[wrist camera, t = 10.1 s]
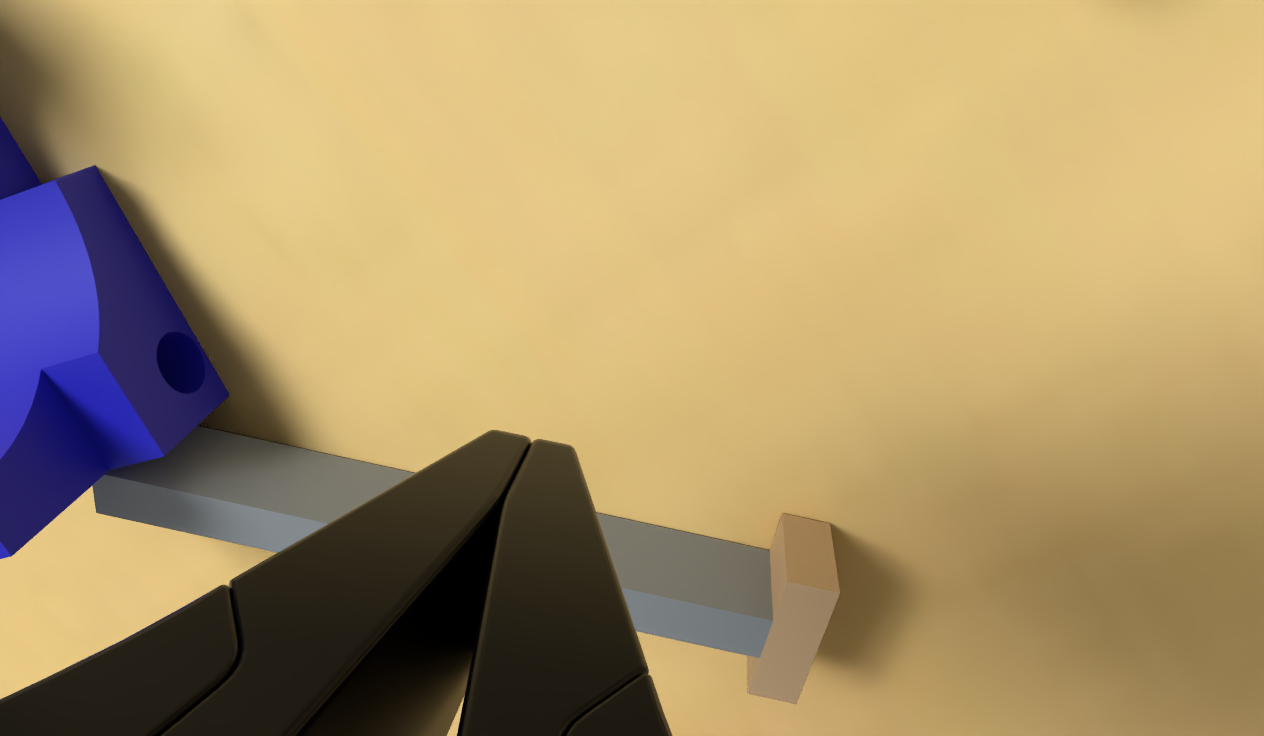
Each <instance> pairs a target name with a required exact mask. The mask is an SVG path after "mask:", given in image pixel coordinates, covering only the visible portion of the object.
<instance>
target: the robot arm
mask: <svg viewBox="0 0 1264 736" xmlns="http://www.w3.org/2000/svg"><path fill="white" fill-rule="evenodd" d="M648 673H649V669H648V666H647V663H646V660H645V657H644V654H643V651H642V648H641V645H640V642H639V639H638V636H637V633H636V630H635V627H634V624H633V621H632V618H631V615H630V612H629V609H628V606H627V603H626V600H625V597H624V594H623V591H622V588H621V585H620V582H619V579H618V576H617V573H616V570H615V567H614V564H613V561H612V558H611V555H610V552H609V549H608V546H607V543H606V540H605V537H604V534H603V531H602V528H601V526H600V523H599V520H598V517H597V514H596V511H595V508H594V505H593V502H592V499H591V496H590V493H589V490H588V487H587V484H586V481H585V478H584V475H583V472H582V469H581V466H580V463H579V460H578V457H577V454H576V451H575V449H574V448H573V447H572V446H570V445H567V444H562V443H557V442H552V441H547V440H542V439H537V440H534V441H533V442H532V443H531V440H530V439H529V438H528V437H526V436H523V435H518V434H513V433H508V432H504V431H499V430H491V431H488V432H486V433H485V434H483V435H481V436H479V437H478V438H476V439H474V440H472V441H471V442H469V443H467V444H465V445H464V446H462V447H460V448H459V449H457V450H455V451H453V452H452V453H450V454H448V455H446V456H445V457H443V458H441V459H440V460H438V461H436V462H434V463H433V464H431V465H429V466H427V467H426V468H424V469H422V470H420V471H419V472H417V473H415V474H414V475H412V476H410V477H408V478H407V479H405V480H403V481H401V482H400V483H398V484H396V485H394V486H393V487H391V488H389V489H388V490H386V491H384V492H382V493H381V494H379V495H377V496H375V497H374V498H372V499H370V500H369V501H367V502H365V503H363V504H362V505H360V506H358V507H356V508H355V509H353V510H351V511H349V512H348V513H346V514H344V515H343V516H341V517H339V518H337V519H336V520H334V521H332V522H330V523H329V524H327V525H325V526H323V527H322V528H320V529H318V530H317V531H315V532H313V533H311V534H310V535H308V536H306V537H304V538H303V539H301V540H299V541H298V542H296V543H294V544H292V545H291V546H289V547H287V548H285V549H284V550H282V551H280V552H278V553H277V554H275V555H273V556H272V557H270V558H268V559H266V560H265V561H263V562H261V563H259V564H258V565H256V566H254V567H252V568H251V569H249V570H247V571H246V572H244V573H242V574H240V575H239V576H237V577H235V578H233V579H232V580H231V581H230V583H229V587H228V586H227V585H221V586H219V587H217V588H215V589H214V590H212V591H210V592H209V593H207V594H205V595H203V596H202V597H200V598H198V599H196V600H195V601H193V602H191V603H189V604H188V605H186V606H184V607H182V608H181V609H179V610H177V611H175V612H173V613H171V614H170V615H168V616H166V617H164V618H162V619H160V620H159V621H157V622H155V623H153V624H151V625H149V626H148V627H146V628H144V629H142V630H140V631H138V632H137V633H135V634H133V635H131V636H129V637H128V638H126V639H124V640H122V641H120V642H118V643H116V644H114V645H112V646H110V647H108V648H106V649H104V650H102V651H100V652H98V653H96V654H94V655H92V656H90V657H88V658H85V659H83V660H81V661H79V662H77V663H75V664H73V665H71V666H69V667H67V668H65V669H63V670H61V671H59V672H57V673H55V674H53V675H51V676H49V677H47V678H45V679H43V680H41V681H38V682H36V683H34V684H32V685H30V686H28V687H26V688H24V689H21V690H19V691H17V692H15V693H13V694H11V695H9V696H7V697H4V698H2V699H0V736H447V734H448V731H449V729H450V727H451V724H452V722H453V720H454V718H455V715H456V713H457V711H458V708H459V706H460V704H461V702H462V699H463V697H464V695H465V697H464V702H463V707H462V712H461V718H460V723H459V728H458V733H457V736H672V733H671V731H670V728H669V725H668V723H667V720H666V718H665V715H664V712H663V709H662V706H661V703H660V701H659V698H658V695H657V692H656V689H655V686H654V683H653V680H652V677H651V676H650V675H648Z"/></svg>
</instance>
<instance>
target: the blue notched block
mask: <svg viewBox="0 0 1264 736" xmlns="http://www.w3.org/2000/svg"><path fill="white" fill-rule="evenodd" d="M228 396H229V393H228V391H227V389H226V388H225V386H224V384H223V383H222V381H221V379H220V377H219V376H218V374H217V372H216V371H215V369H214V367H213V366H212V364H211V362H210V360H209V359H208V357H207V355H206V354H205V352H204V350H203V348H202V347H201V345H200V343H199V342H198V340H197V338H196V337H195V335H194V333H193V331H192V330H191V328H190V326H189V325H188V323H187V321H186V319H185V318H184V316H183V314H182V313H181V311H180V309H179V307H178V306H177V304H176V302H175V301H174V299H173V297H172V296H171V294H170V292H169V290H168V289H167V287H166V285H165V284H164V282H163V280H162V278H161V277H160V275H159V273H158V272H157V270H156V268H155V267H154V265H153V263H152V261H151V260H150V258H149V256H148V255H147V253H146V251H145V249H144V248H143V246H142V244H141V243H140V241H139V239H138V237H137V236H136V234H135V232H134V231H133V229H132V227H131V226H130V224H129V222H128V220H127V219H126V217H125V215H124V214H123V212H122V210H121V208H120V207H119V205H118V203H117V202H116V200H115V198H114V197H113V195H112V193H111V191H110V190H109V188H108V186H107V185H106V183H105V181H104V179H103V178H102V176H101V174H100V173H99V171H98V169H97V167H96V166H95V165H94V166H91V167H89V168H86V169H83V170H80V171H77V172H74V173H72V174H69V175H66V176H63V177H60V178H57V179H55V180H52V181H49V182H46V183H43V184H41V182H40V180H39V179H38V177H37V175H36V174H35V172H34V171H33V169H32V167H31V166H30V164H29V163H28V161H27V159H26V158H25V156H24V154H23V153H22V151H21V150H20V148H19V146H18V145H17V143H16V141H15V140H14V138H13V137H12V135H11V133H10V132H9V130H8V129H7V127H6V125H5V124H4V122H3V120H2V119H1V117H0V559H2V558H6V557H11V556H12V555H14V554H15V553H16V552H17V551H18V550H19V549H20V548H22V547H23V546H24V545H25V544H26V543H27V542H28V541H30V540H31V539H32V538H33V537H34V536H35V535H36V534H38V533H39V532H40V531H41V530H42V529H43V528H44V527H45V526H47V525H48V524H49V523H50V522H51V521H52V520H53V519H55V518H56V517H57V516H58V515H59V514H60V513H61V512H63V511H64V510H65V509H66V508H67V507H68V506H69V505H70V504H72V503H73V502H74V501H75V500H76V499H77V498H78V497H80V496H81V495H82V494H83V493H84V492H85V491H86V490H88V489H89V488H90V487H91V486H92V485H93V484H94V483H95V482H97V481H98V480H99V479H100V478H101V477H102V476H103V475H105V474H106V473H107V472H108V471H109V470H112V469H116V468H120V467H124V466H128V465H132V464H136V463H140V462H144V461H148V460H152V459H156V458H160V457H164V456H165V455H166V454H167V453H169V452H170V451H171V450H172V449H173V448H174V447H175V446H176V445H177V444H178V443H179V442H180V441H181V440H182V439H183V438H185V437H186V436H187V435H188V434H189V433H190V432H191V431H192V430H193V429H194V428H195V427H196V426H197V425H198V424H199V423H200V422H202V421H203V420H204V419H205V418H206V417H207V416H208V415H209V414H210V413H211V412H212V411H213V410H214V409H215V408H216V407H217V406H219V405H220V404H221V403H222V402H223V401H224V400H225V399H226V398H227V397H228Z"/></svg>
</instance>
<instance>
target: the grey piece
mask: <svg viewBox="0 0 1264 736" xmlns="http://www.w3.org/2000/svg"><path fill="white" fill-rule="evenodd" d="M414 474H415V473H412V472H407V471H403V470H398V469H394V468H389V467H384V466H380V465H375V464H371V463H366V462H361V461H357V460H352V459H348V458H343V457H338V456H334V455H329V454H325V453H320V452H316V451H311V450H306V449H302V448H297V447H293V446H288V445H283V444H279V443H274V442H270V441H265V440H260V439H256V438H251V437H247V436H242V435H237V434H233V433H228V432H224V431H219V430H215V429H210V428H205V427H201V426H196V427H195V428H194V429H193V430H192V431H191V432H190V433H189V434H188V435H187V436H186V437H185V438H183V439H182V440H181V441H180V442H179V443H178V444H177V445H176V446H175V447H174V448H173V449H172V450H171V451H170V452H169V453H167V454H166V455H165V456H164V457H160V458H156V459H152V460H148V461H144V462H140V463H136V464H132V465H128V466H124V467H120V468H116V469H112V470H109V471H108V472H107V473H106V474H105V475H103V476H102V477H101V478H100V479H99V480H98V481H97V482H95V483H94V484H93V492H94V499H95V507H96V513H100V514H104V515H109V516H113V517H118V518H122V519H127V520H132V521H136V522H141V523H145V524H150V525H154V526H159V527H163V528H168V529H173V530H177V531H182V532H186V533H191V534H195V535H200V536H205V537H209V538H214V539H218V540H223V541H227V542H232V543H237V544H241V545H246V546H250V547H255V548H259V549H264V550H268V551H273V552H280V551H282V550H284V549H285V548H287V547H289V546H291V545H292V544H294V543H296V542H298V541H299V540H301V539H303V538H304V537H306V536H308V535H310V534H311V533H313V532H315V531H317V530H318V529H320V528H322V527H323V526H325V525H327V524H329V523H330V522H332V521H334V520H336V519H337V518H339V517H341V516H343V515H344V514H346V513H348V512H349V511H351V510H353V509H355V508H356V507H358V506H360V505H362V504H363V503H365V502H367V501H369V500H370V499H372V498H374V497H375V496H377V495H379V494H381V493H382V492H384V491H386V490H388V489H389V488H391V487H393V486H394V485H396V484H398V483H400V482H401V481H403V480H405V479H407V478H408V477H410V476H412V475H414ZM596 514H597V517H598V520H599V523H600V526H601V528H602V531H603V534H604V537H605V540H606V543H607V546H608V549H609V552H610V555H611V558H612V561H613V564H614V567H615V570H616V573H617V576H618V579H619V582H620V585H621V588H622V591H623V594H624V597H625V600H626V603H627V606H628V609H629V612H630V615H631V618H632V621H633V624H634V627H635V630H636V631H638V632H643V633H647V634H652V635H656V636H661V637H665V638H670V639H675V640H679V641H684V642H688V643H693V644H697V645H702V646H706V647H711V648H716V649H720V650H725V651H729V652H734V653H738V654H743V655H747V694H752V695H757V696H761V697H766V698H770V699H775V700H779V701H784V702H788V703H793V704H797V701H798V699H799V696H800V694H801V691H802V688H803V686H804V683H805V681H806V678H807V676H808V673H809V671H810V668H811V666H812V663H813V661H814V658H815V656H816V653H817V651H818V648H819V645H820V643H821V640H822V638H823V635H824V633H825V630H826V628H827V625H828V623H829V620H830V618H831V615H832V613H833V610H834V608H835V605H836V602H837V600H838V597H839V595H840V588H839V581H838V575H837V568H836V561H835V555H834V548H833V541H832V535H831V528H830V523H825V522H820V521H816V520H811V519H807V518H802V517H797V516H793V515H788V514H784V513H782V515H781V518H780V521H779V524H778V527H777V530H776V533H775V536H774V539H773V542H772V545H771V548H770V550H765V549H761V548H756V547H752V546H747V545H742V544H738V543H733V542H729V541H724V540H719V539H715V538H710V537H706V536H701V535H697V534H692V533H687V532H683V531H678V530H674V529H669V528H664V527H660V526H655V525H651V524H646V523H641V522H637V521H632V520H628V519H623V518H619V517H614V516H609V515H605V514H600V513H596Z"/></svg>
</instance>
